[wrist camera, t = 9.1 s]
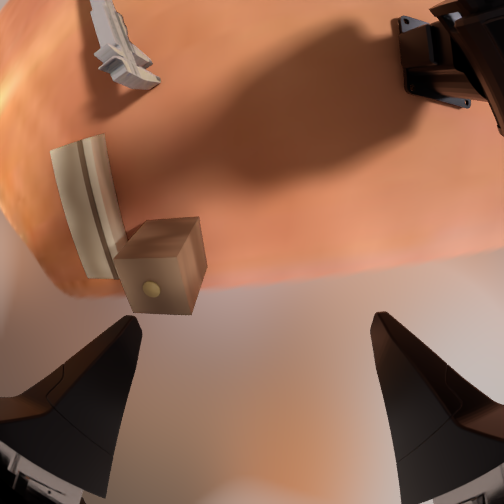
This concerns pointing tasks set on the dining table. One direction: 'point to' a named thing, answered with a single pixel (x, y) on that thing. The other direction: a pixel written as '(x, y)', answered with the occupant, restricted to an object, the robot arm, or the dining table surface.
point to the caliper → (120, 49)
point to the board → (90, 204)
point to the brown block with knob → (163, 266)
